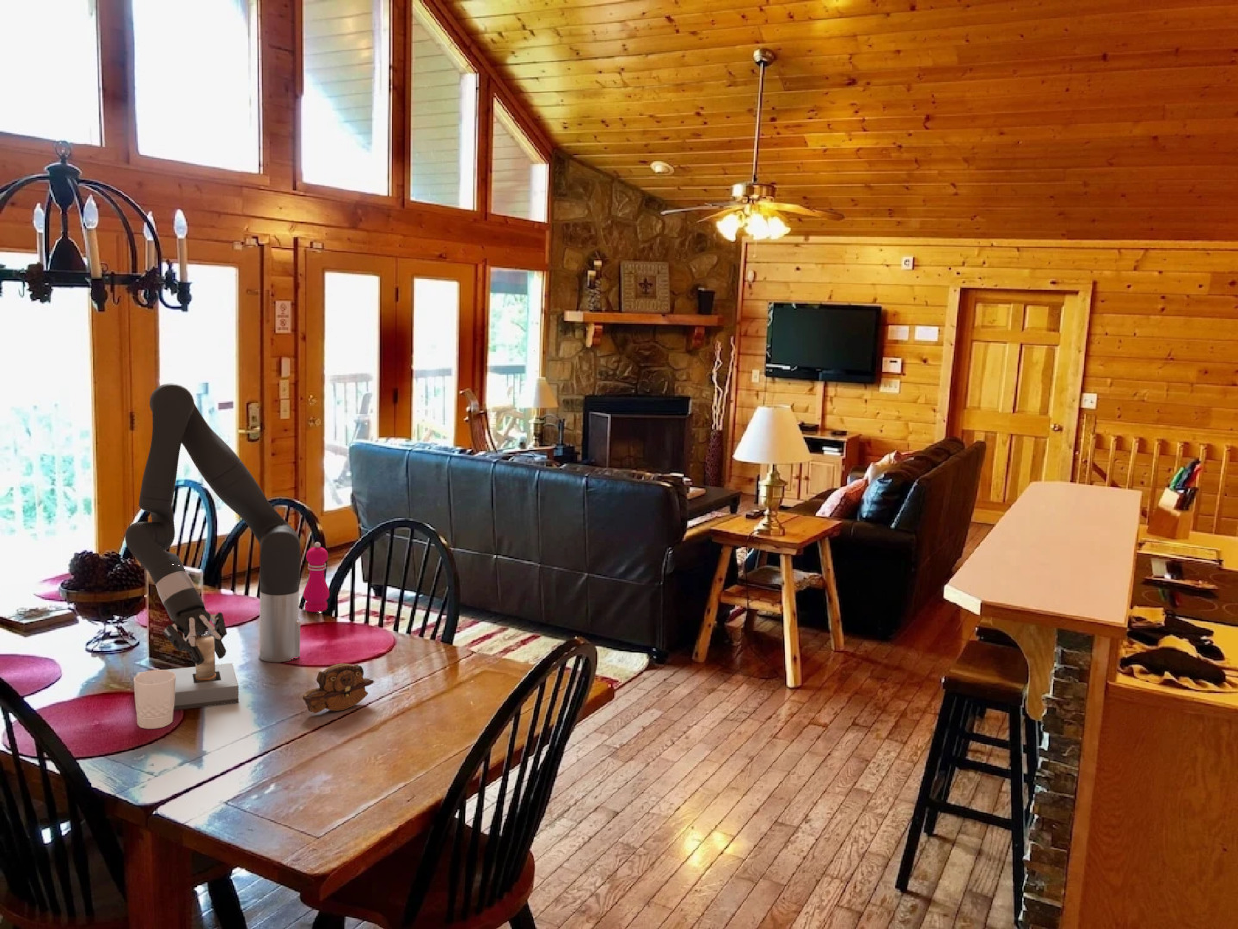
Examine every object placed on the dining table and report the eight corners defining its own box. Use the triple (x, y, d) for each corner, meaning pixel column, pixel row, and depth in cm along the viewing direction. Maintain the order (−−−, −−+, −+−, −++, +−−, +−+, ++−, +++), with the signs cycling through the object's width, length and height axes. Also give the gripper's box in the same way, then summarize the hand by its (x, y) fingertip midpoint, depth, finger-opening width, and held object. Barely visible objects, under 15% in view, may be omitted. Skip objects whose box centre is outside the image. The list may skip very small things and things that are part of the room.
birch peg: (215, 684, 219) (213, 634, 216) (217, 691, 215) (215, 640, 213) (195, 687, 217) (193, 636, 215) (196, 694, 213) (194, 643, 211)
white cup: (184, 719, 203) (184, 674, 201) (155, 733, 196) (155, 687, 194) (155, 711, 205) (154, 667, 204) (125, 725, 198) (124, 679, 196)
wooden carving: (312, 723, 205) (313, 679, 204) (300, 716, 208) (301, 672, 207) (376, 702, 218) (377, 661, 216) (364, 696, 221) (366, 655, 219)
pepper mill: (333, 606, 282) (334, 540, 278) (323, 613, 274) (324, 546, 271) (309, 604, 282) (310, 538, 279) (298, 611, 275) (299, 543, 272)
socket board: (232, 679, 225) (232, 663, 224) (238, 702, 213) (238, 685, 212) (136, 689, 216) (136, 672, 215) (137, 714, 203) (137, 696, 203)
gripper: (156, 594, 210) (189, 660, 206) (215, 581, 222) (247, 643, 218) (143, 611, 214) (175, 677, 209) (201, 598, 226) (232, 659, 221)
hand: (211, 659), depth 214 cm, fingers open, 4 cm apart
